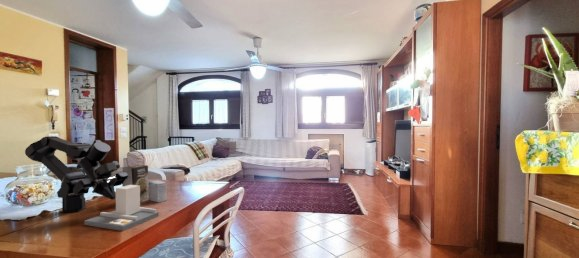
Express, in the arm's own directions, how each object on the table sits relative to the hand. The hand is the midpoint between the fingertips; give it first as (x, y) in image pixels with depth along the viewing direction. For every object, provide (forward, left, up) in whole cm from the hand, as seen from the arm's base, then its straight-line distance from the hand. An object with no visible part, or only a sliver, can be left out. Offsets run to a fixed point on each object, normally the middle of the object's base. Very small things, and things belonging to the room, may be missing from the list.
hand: (114, 198), depth 99 cm
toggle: (+6, -3, -5) cm, 8 cm away
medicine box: (+11, +19, -7) cm, 23 cm away
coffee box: (+1, +21, -7) cm, 22 cm away
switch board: (+5, -6, -7) cm, 10 cm away
